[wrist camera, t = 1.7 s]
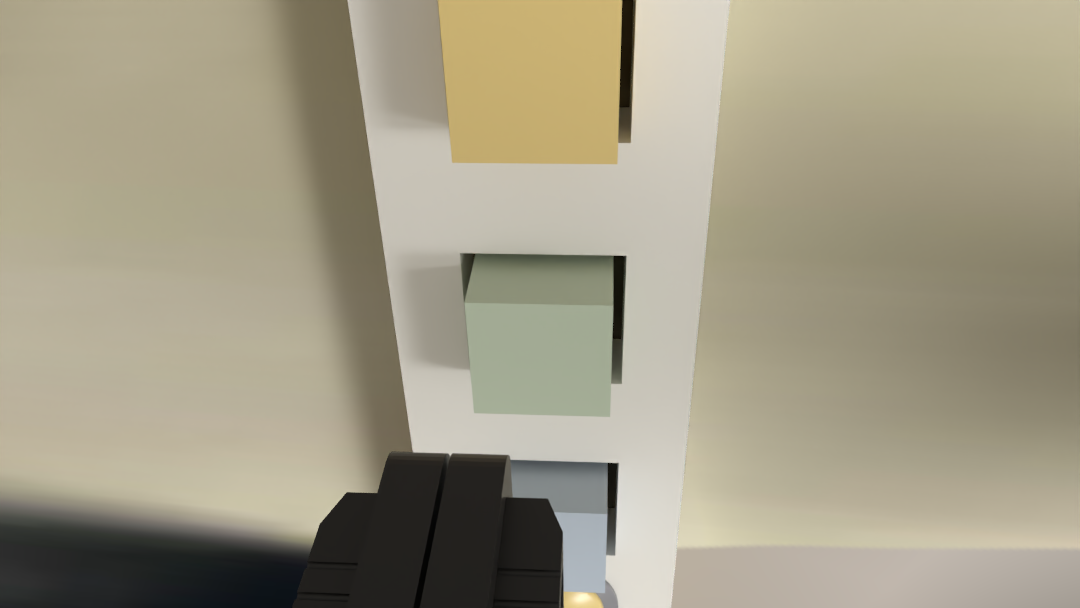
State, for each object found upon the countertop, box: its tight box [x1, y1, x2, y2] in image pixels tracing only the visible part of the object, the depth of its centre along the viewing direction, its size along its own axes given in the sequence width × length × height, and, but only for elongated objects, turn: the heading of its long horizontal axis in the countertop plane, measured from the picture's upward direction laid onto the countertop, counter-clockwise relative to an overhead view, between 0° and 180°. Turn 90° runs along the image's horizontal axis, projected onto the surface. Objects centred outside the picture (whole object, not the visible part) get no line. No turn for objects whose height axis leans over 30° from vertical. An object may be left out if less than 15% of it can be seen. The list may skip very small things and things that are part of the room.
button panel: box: [347, 0, 730, 608], centre depth 32 cm, size 10×32×3 cm, turn 1°
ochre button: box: [438, 0, 622, 164], centre depth 24 cm, size 4×4×3 cm
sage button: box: [464, 253, 613, 417], centre depth 30 cm, size 4×4×3 cm
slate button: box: [510, 460, 608, 593], centre depth 35 cm, size 4×4×3 cm
